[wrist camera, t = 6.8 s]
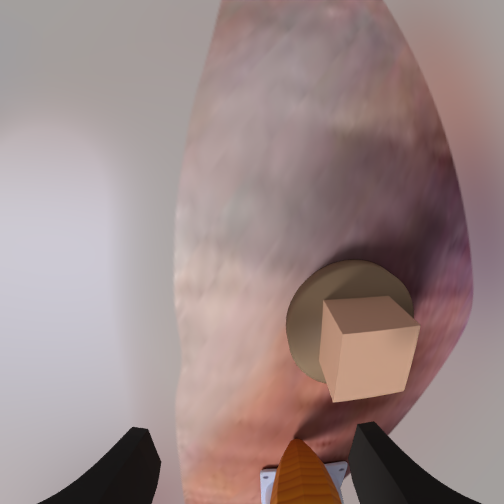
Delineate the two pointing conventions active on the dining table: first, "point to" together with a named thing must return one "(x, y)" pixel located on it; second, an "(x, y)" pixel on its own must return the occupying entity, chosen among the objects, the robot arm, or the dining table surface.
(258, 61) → the dining table surface
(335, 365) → the tan block
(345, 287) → the olive round dish
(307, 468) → the carrot
